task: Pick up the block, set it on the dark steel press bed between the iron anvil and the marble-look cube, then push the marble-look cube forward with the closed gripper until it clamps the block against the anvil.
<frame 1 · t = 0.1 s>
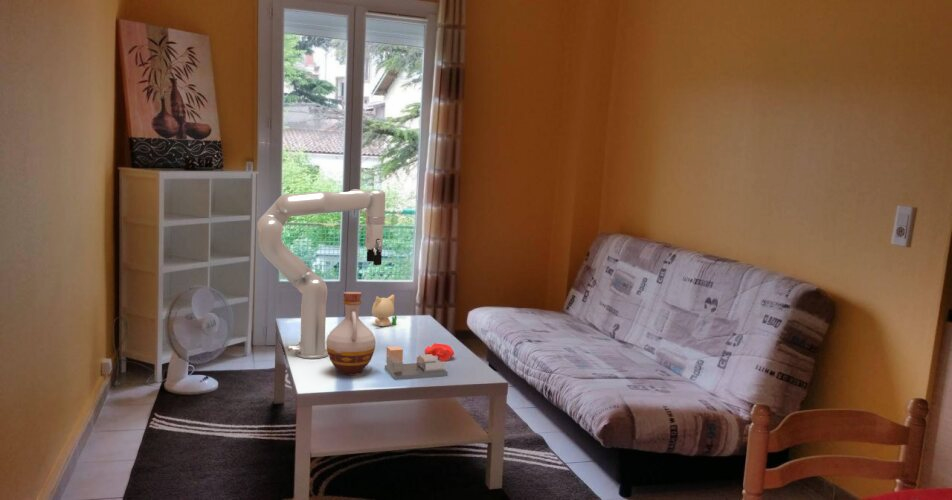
hand: (373, 263, 288), 37 cm above the table, tool pointing down, fingers open, 9 cm apart
kitten: (383, 326, 339), on the table
animal figurine: (437, 357, 290), on the table
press: (415, 372, 266), on the table
block: (394, 363, 277), on the table
jug: (350, 373, 262), on the table
marble-look cube: (427, 361, 268), point 4 cm above the table, slide at 0.0 cm
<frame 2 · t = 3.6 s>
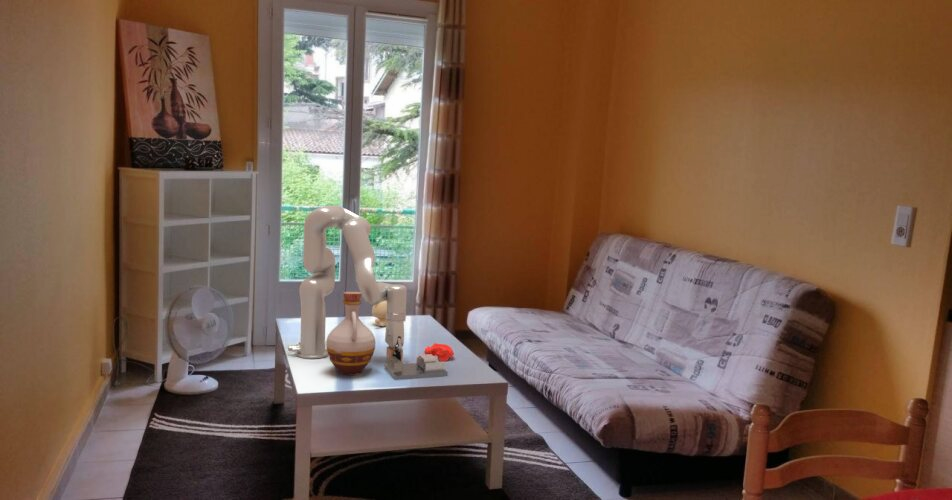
hand: (394, 361, 277), 0 cm above the table, tool pointing down, fingers closed on block, 5 cm apart
block: (394, 363, 277), on the table, touching gripper
everything else where it was.
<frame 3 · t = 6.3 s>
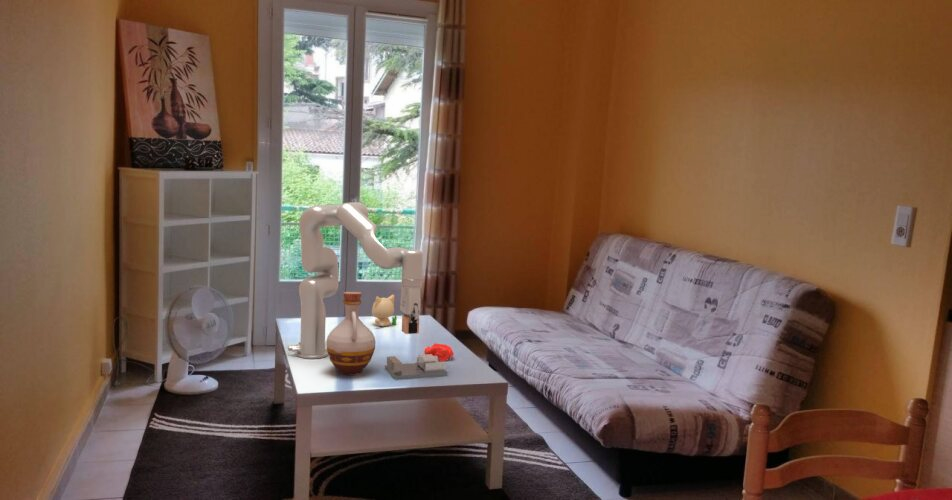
hand: (410, 330, 264), 16 cm above the table, tool pointing down, fingers closed on block, 5 cm apart
block: (410, 332, 264), point 15 cm above the table, touching gripper
everything else where it was.
when the fingers open (3 cm above the table, at t = 9.1 s): block drops 1 cm, resting on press.
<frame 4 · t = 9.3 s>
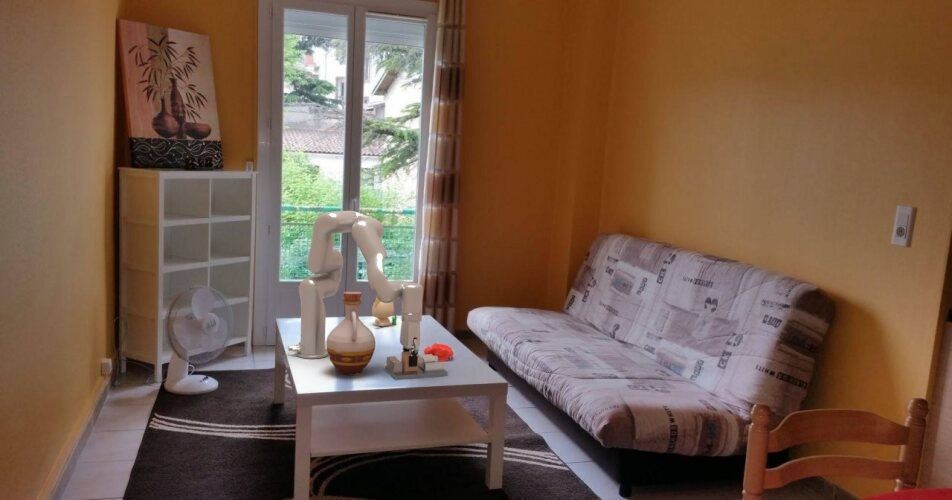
hand: (409, 363, 265), 4 cm above the table, tool pointing down, fingers open, 6 cm apart
block: (409, 369, 265), point 1 cm above the table, touching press
everything else where it was.
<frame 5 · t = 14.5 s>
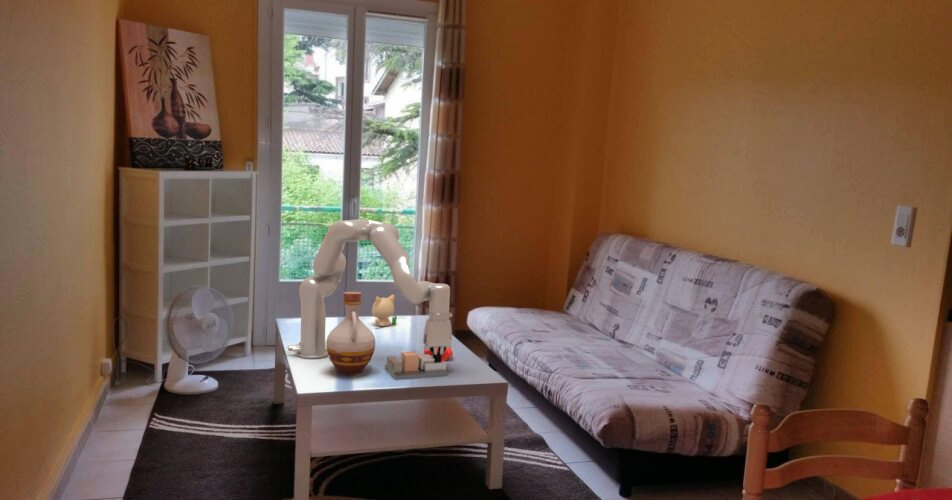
hand: (436, 364, 269), 3 cm above the table, tool pointing down, fingers closed
marble-look cube: (425, 361, 267), point 4 cm above the table, slide at 0.9 cm, touching gripper
everything else where it was.
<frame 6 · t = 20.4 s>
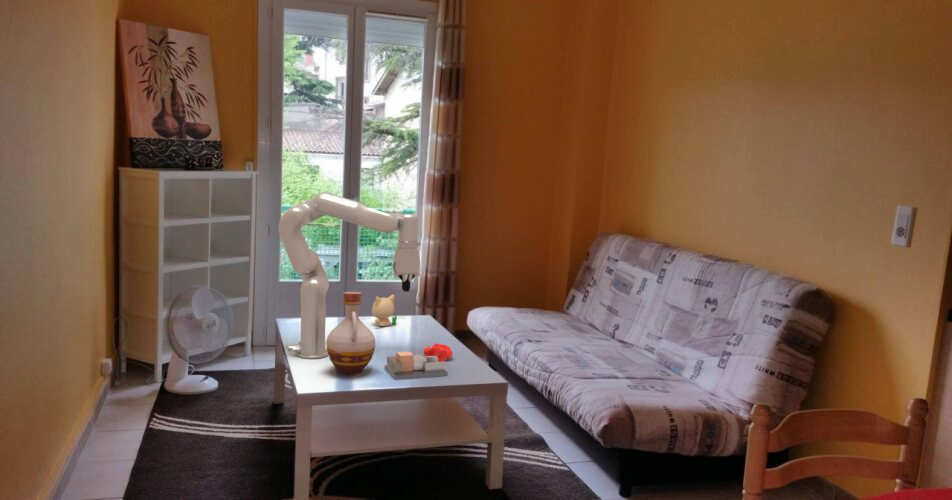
hand: (405, 291, 283), 27 cm above the table, tool pointing down, fingers closed
block: (404, 369, 264), point 1 cm above the table, touching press, marble-look cube
marble-look cube: (417, 362, 266), point 4 cm above the table, slide at 4.0 cm, touching block
everything else where it was.
at the end: marble-look cube slide at 4.0 cm; block 0.4 cm from the target spot, point 1.5 cm above the table; block tilted 0° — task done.
